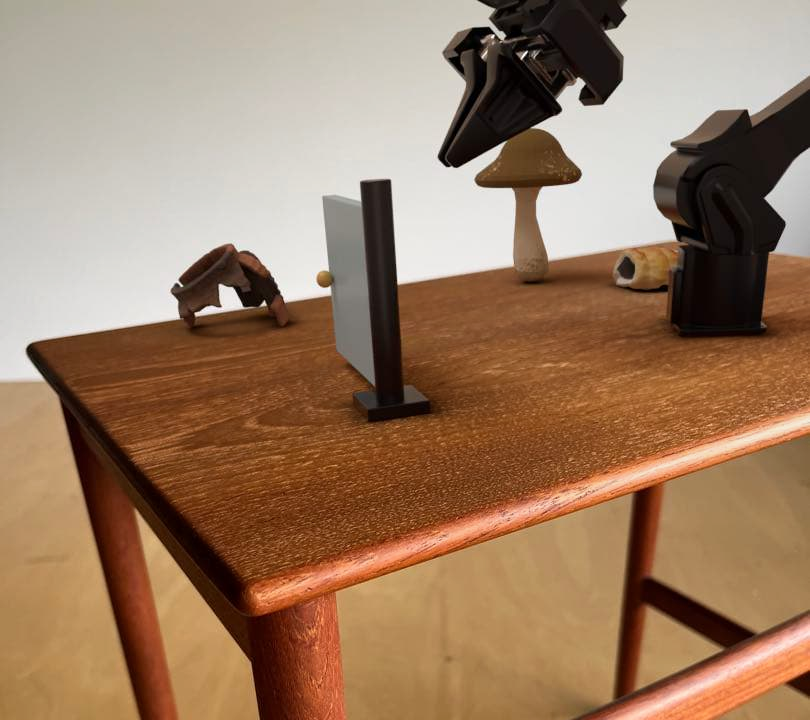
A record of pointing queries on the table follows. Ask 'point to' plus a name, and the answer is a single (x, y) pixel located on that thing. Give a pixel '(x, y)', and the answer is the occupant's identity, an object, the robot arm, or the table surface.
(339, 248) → the door
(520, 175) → the mushroom
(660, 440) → the table surface
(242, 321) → the table surface
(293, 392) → the table surface
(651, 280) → the pastry
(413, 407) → the door frame
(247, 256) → the broken clay pot shard
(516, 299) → the table surface
